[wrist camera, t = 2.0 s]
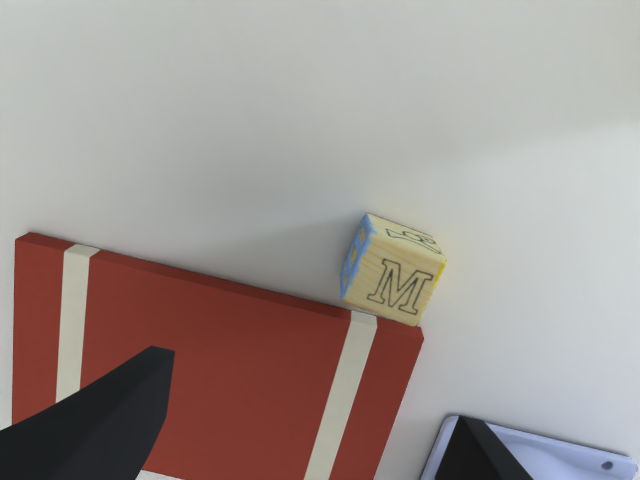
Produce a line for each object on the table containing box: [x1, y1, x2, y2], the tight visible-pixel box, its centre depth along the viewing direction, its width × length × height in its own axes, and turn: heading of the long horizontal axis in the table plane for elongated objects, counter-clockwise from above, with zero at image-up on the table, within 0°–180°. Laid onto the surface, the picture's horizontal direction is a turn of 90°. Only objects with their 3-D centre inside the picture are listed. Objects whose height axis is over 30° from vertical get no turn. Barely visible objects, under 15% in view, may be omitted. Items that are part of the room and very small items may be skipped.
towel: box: [12, 233, 424, 480], centre depth 22 cm, size 18×11×1 cm, turn 77°
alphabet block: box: [340, 213, 447, 326], centre depth 18 cm, size 3×3×3 cm
